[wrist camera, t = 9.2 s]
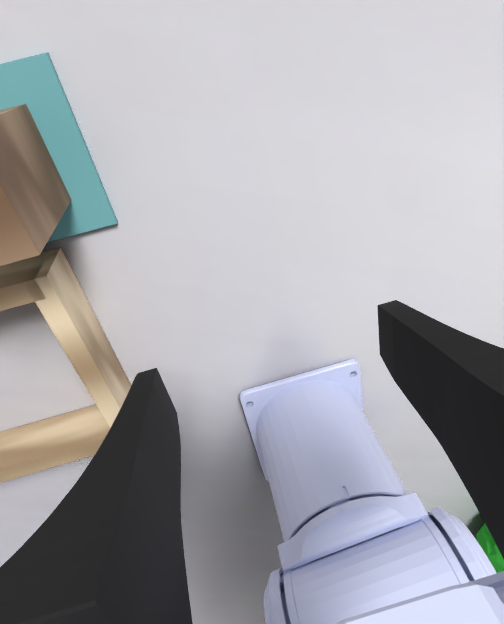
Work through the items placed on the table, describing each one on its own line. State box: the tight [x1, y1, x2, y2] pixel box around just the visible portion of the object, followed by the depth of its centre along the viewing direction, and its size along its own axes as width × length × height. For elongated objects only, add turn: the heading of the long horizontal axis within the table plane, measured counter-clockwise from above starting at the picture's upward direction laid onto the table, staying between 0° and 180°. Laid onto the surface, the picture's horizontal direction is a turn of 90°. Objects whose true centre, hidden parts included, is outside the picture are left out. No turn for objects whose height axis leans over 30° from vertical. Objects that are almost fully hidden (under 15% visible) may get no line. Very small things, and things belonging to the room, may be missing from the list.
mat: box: [0, 53, 118, 242], centre depth 18 cm, size 7×7×1 cm
